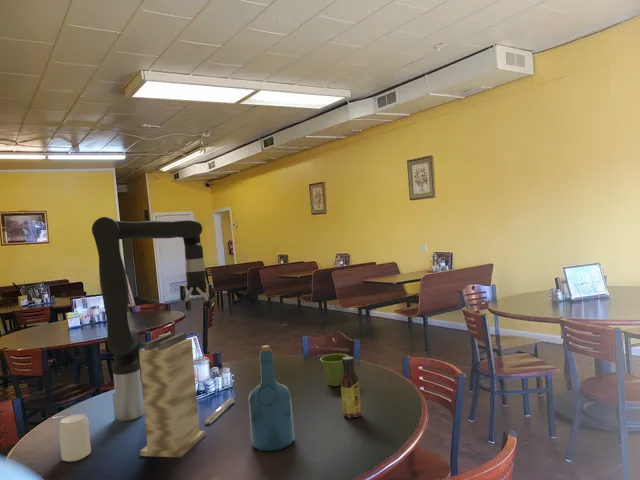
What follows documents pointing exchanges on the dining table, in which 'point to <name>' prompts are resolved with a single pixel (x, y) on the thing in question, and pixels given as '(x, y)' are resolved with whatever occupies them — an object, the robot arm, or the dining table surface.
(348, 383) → the sauce bottle
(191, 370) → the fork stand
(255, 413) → the wine bottle
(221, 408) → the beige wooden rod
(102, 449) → the dining table surface
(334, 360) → the plant pot
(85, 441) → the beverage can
